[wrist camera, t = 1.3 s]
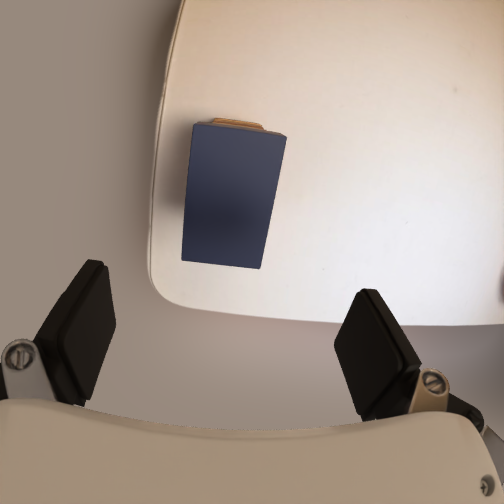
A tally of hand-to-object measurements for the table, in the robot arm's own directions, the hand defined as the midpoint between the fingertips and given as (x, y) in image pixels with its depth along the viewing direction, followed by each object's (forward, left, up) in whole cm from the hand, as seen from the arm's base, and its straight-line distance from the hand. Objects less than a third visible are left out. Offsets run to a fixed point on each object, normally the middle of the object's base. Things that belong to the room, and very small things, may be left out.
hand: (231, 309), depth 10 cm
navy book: (0, 0, -13) cm, 13 cm away
